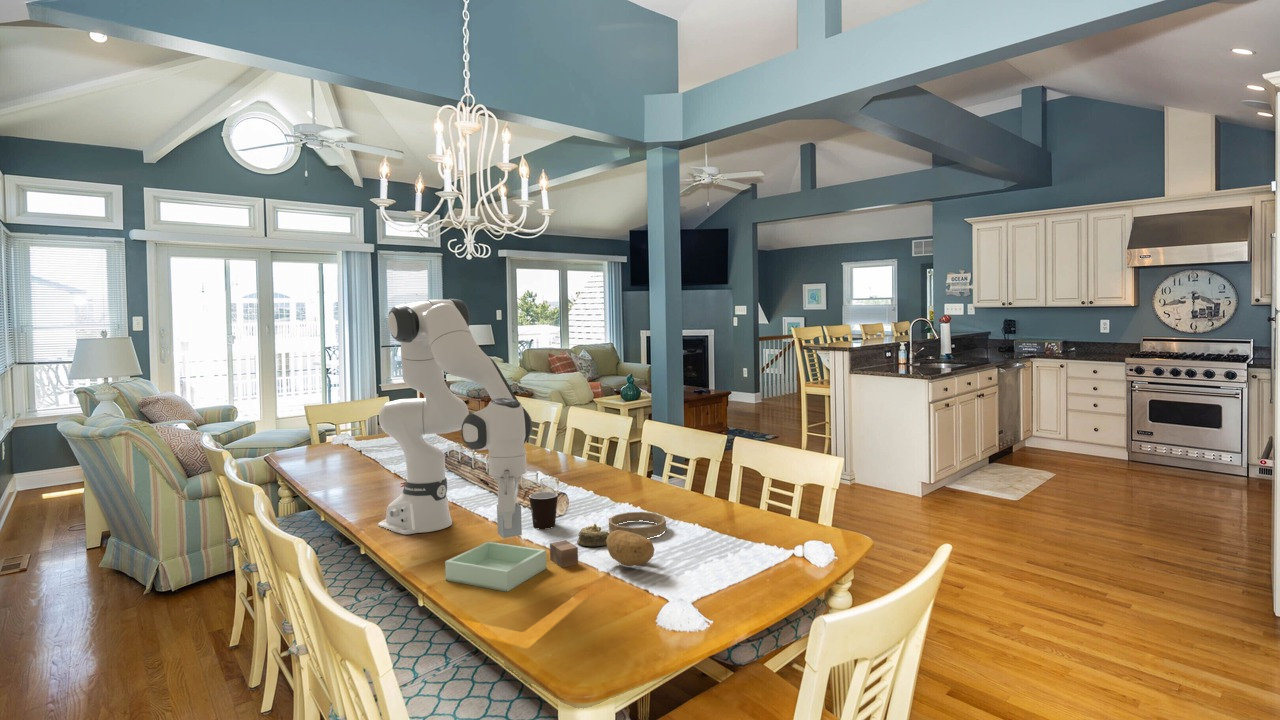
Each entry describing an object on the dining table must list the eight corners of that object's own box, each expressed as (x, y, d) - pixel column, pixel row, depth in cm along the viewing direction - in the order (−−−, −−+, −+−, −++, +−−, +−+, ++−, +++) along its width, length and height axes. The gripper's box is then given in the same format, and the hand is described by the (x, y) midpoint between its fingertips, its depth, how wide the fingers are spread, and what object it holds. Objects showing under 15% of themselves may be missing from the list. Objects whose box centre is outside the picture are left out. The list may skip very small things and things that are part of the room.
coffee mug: (553, 533, 189) (552, 499, 188) (525, 531, 190) (524, 498, 190) (565, 521, 200) (564, 490, 200) (539, 520, 202) (538, 489, 201)
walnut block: (549, 543, 166) (561, 550, 160) (565, 540, 168) (577, 547, 162) (550, 560, 166) (562, 568, 160) (566, 557, 168) (578, 564, 162)
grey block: (497, 533, 155) (496, 504, 154) (515, 530, 157) (514, 502, 157) (503, 538, 151) (502, 508, 151) (521, 535, 153) (521, 506, 153)
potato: (638, 577, 153) (637, 543, 153) (597, 563, 162) (597, 532, 162) (664, 565, 160) (664, 534, 160) (624, 553, 170) (624, 523, 169)
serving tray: (445, 580, 153) (445, 561, 153) (488, 558, 167) (488, 541, 167) (507, 591, 145) (506, 571, 145) (546, 568, 160) (546, 550, 159)
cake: (587, 551, 173) (587, 531, 172) (570, 541, 181) (570, 523, 181) (619, 544, 178) (618, 525, 178) (600, 535, 186) (600, 517, 186)
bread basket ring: (599, 536, 185) (598, 524, 185) (624, 520, 200) (624, 509, 200) (651, 543, 178) (651, 530, 178) (673, 526, 193) (673, 515, 193)
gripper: (519, 474, 144) (521, 535, 144) (522, 458, 164) (523, 512, 164) (490, 476, 143) (492, 537, 143) (496, 459, 163) (498, 513, 163)
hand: (509, 523), depth 154 cm, fingers closed on grey block, 5 cm apart
